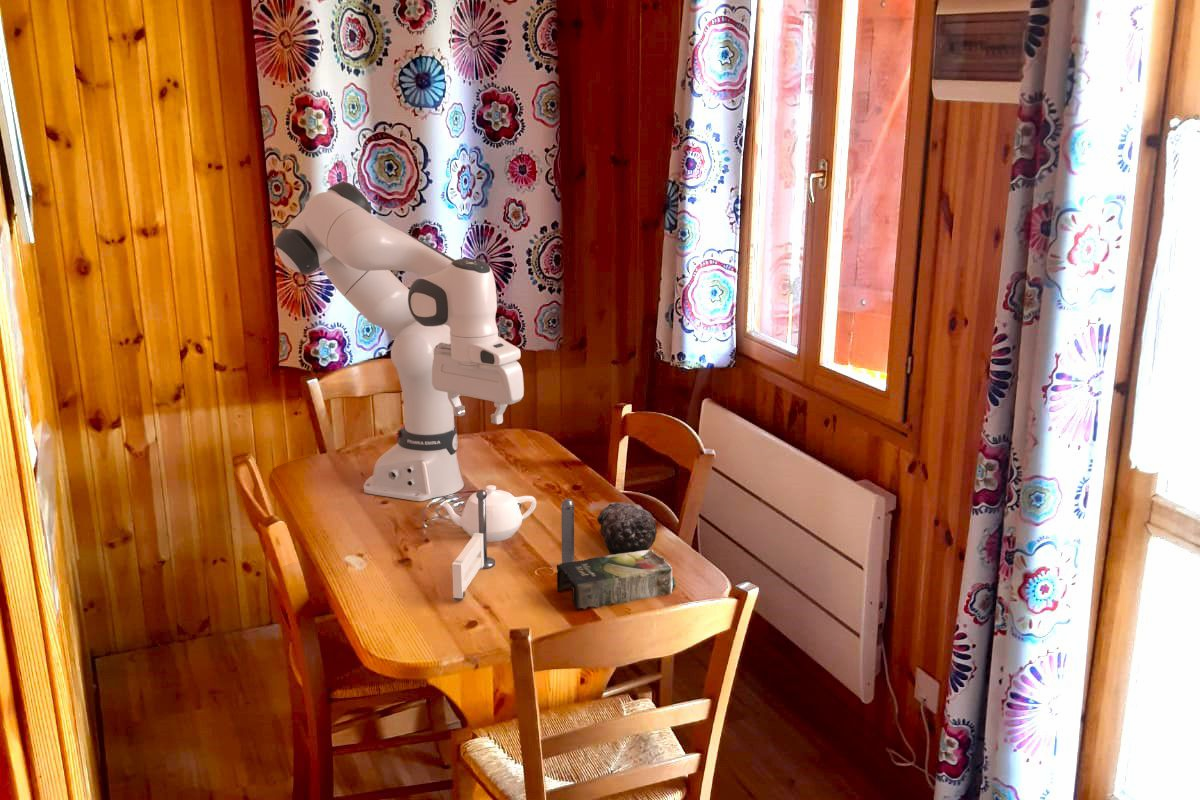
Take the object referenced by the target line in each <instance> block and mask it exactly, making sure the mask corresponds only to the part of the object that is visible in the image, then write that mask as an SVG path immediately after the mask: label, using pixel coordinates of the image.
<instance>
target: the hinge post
mask: <svg viewBox="0 0 1200 800" xmlns="http://www.w3.org/2000/svg"><path fill="white" fill-rule="evenodd" d="M485 490H486V489H482V488H481V489H478V490H477V491H476V492H477V493H476V492H475V493H476V496H477V498H478V517H479V533H483V546H484V566H483V568H482V569H481V570H489V569H492V568H493V567H495V565H496V559H494V558H493V557H490V556H488V545H487V544H488V542H487V536H486V501H485V498H486V497H487V493H486V491H485Z"/></svg>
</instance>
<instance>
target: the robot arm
mask: <svg viewBox="0 0 1200 800" xmlns="http://www.w3.org/2000/svg"><path fill="white" fill-rule="evenodd" d="M274 239H275V240H274V248H275V251H276V253H277V254H278V257H279V258H280V260H281V262H282V263H283V264H284V265H285V266H286V267H287V268H289V269H290V270H292V271H294V272H296V273H297V274H299V275H309V274H311V273H313V272H315V271H317V270H318V269H322V271H323V273H324V275H326V277H327V278H328V280H329V281H330V282H331V284H332V285H333V286H334V287H335V288H336V290H337V291H338V292H339V293H340V294H341V295H342V296H343V297H344V298H345V300H347V301H348V302H349V304H351V305H352V306H353V307H354V308H355V310H356V311H358V312H359V313H360V315H362V316H363V317H364V319H365V320H367V321H368V322H369V324H371V325H373V326H376V327H379V328H381V329H383V330H384V331H386V332H388V334H390V335H391V336H393V337H395V338H394V340H393V342H392V346H391V349H390V358H391V362H392V364H393V366H394V368H395V369H396V372H397V375H398V376H397V377H398V379H399V380H398V381H399V383H400V387H401V392H402V399H403V416H404V423H403V424H402V425H401V426H400V428H399V429H398V430H397V431H396V433H395V434H394V436H395V437H394V439H395V440H397V443H395V444H394V445H393V446H392V447H391V448H389V449H388V450H386V451H385V452H384V453H383V454H382V455H381V456H379V458H377V460H376V462H375V464H374V467H373V473H372V475H371V476H369V477H368V478H367V479H366V481H365V482H364V483H363V489H364V490H363V492H364V493H365V494H370V495H376V496H383V497H390V498H394V499H400V500H401V499H402V500H406V501H407V500H409V501H414V502H424V501H427V500H430V499H434V498H438V497H439V498H440V497H446V496H449V495H452V494H455V493H457V492H459V491H461V490H462V489H463V488H464V485H465V482H464V480H463V477H462V473H461V470H460V467H459V461H458V454H457V453H458V452H457V451H458V446H459V445H458V444H459V443H458V433H457V432H458V430H457V425H456V424H455V417H456V416H457V417H462V416H465V414H466V411H465V410H466V405H463V404H462V403H461V400H460V397H461V396H465V397H470V398H474V399H480V400H484V401H490V402H493V404H494V407H495V410H494V411H495V412H494V413H492V414H490V423H491V424H495V425H500V424H503V422H504V415H503V414H504V413H505V412H506V409H507V407H508V405H509V406H510V405H514V404H516V403H518V402H521V400H522V399H523V397H524V395H525V394H524V392H525V387H524V385H525V384H524V373H523V369H522V366H521V364H520V363H519V362H518V360H520V359H521V353H522V352H521V350H520V348H519V347H517V346H516V345H513V344H512V343H510V342H509V341H507V340H505V339H504V338H502V337H501V336H499V329H498V326H497V322H496V315H497V314H496V313H497V312H498V311H497V310H498V299H497V288H496V287H497V286H496V281H495V276H494V272H493V269H492V268H491V266H490V264H487V263H486V262H485V261H483V260H479V259H475V258H473V259H472V258H458V259H454V258H452V257H451V256H449V255H447V254H445V253H443V251H440V250H438V249H437V248H435V247H433V246H432V245H430V244H428V243H427V242H424V241H423V240H421V239H419V238H417V237H415V236H412V235H410V234H409V233H407V232H404V231H401V230H400V229H398V228H395V227H394V226H392V225H390V224H388V223H386V222H385V221H383V220H382V219H380V218H378V217H376V216H375V215H373V214H372V206H371V204H370V202H369V199H368V198H367V197H366V194H365V193H364V192H363V191H361V190H360V189H359V188H358V187H356V186H354V184H352V183H350V182H347V181H340V182H338V183H336V184H334V185H333V184H332V185H331V186H330V187H328V190H327V191H323V192H319V193H317V194H315V195H313V196H312V197H311V198H310V199H309V200H308V201H307V202H306V204H305V206H304V208H303V210H302V211H301V212H299V214H298V215H297V216H295V217H294V219H293V220H291V222H290V223H289V224H287V226H286V228H283V229H282V230H281V231H280V232H279V233H278V234H277V236H276V237H275V238H274ZM392 271H403V272H408V273H412V274H416V275H417V276H419V277H420V278H418V279H415V281H413V282H412V284H411V285H410V287H409V288H408V287H407V286H405V284H403V283H402V282H401V280H400V279H399V278H397V276H396V275H395V274H394V273H393V272H392Z"/></svg>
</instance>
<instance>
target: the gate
mask: <svg viewBox="0 0 1200 800" xmlns="http://www.w3.org/2000/svg"><path fill="white" fill-rule="evenodd" d="M451 565H452V566H451V567H452V568H451V569H452V590H453V591H452V597H453V599H454V600H455V601H457V602H460V601H463V600H464V598H465V596H466V592H465V591H466V590H467V588H468V587H469V585H470V583H471V582H472V581H473V579H474V578H475V576H476V575H477V574H478V572H479V570H483V569H482V568H483V566H484V546H483V533H474V535H473V536H472V537H471V538H470V539H469V541H468V542H467V544H466V545H465V547H464V548H463V550H462V551H461V552H460V554H459V555H458V556H457V557H456V558H455V560H454V561H453V563H451Z"/></svg>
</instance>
